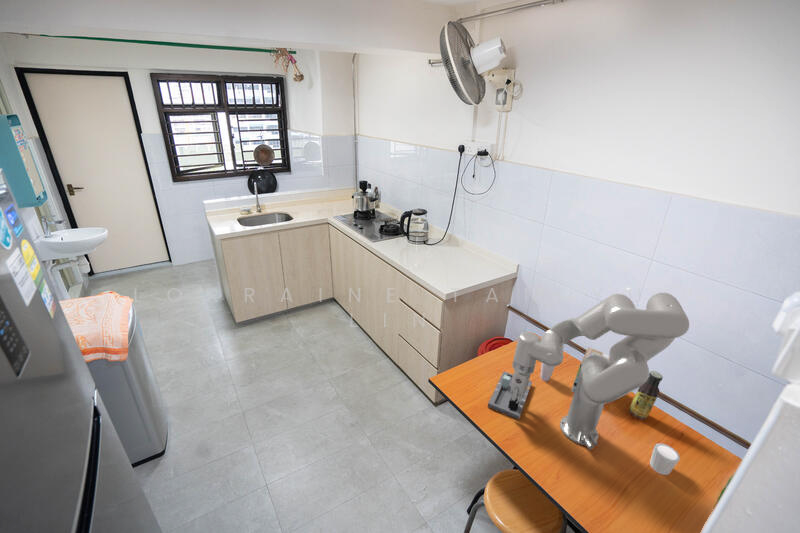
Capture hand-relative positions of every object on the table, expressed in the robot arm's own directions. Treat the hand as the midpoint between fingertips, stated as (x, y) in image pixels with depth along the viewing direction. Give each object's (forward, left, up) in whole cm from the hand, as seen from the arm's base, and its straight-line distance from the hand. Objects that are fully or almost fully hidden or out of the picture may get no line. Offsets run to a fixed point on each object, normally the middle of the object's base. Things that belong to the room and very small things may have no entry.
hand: (515, 401), depth 137 cm
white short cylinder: (-26, -40, -4) cm, 48 cm away
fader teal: (+11, 0, -3) cm, 11 cm away
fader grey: (0, 0, -3) cm, 3 cm away
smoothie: (+17, -20, -4) cm, 27 cm away
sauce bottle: (-4, -48, -4) cm, 49 cm away
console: (+7, -1, -4) cm, 9 cm away
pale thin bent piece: (+11, -36, -4) cm, 38 cm away
